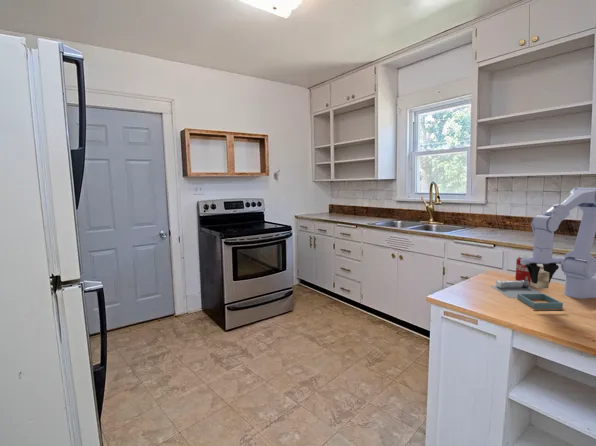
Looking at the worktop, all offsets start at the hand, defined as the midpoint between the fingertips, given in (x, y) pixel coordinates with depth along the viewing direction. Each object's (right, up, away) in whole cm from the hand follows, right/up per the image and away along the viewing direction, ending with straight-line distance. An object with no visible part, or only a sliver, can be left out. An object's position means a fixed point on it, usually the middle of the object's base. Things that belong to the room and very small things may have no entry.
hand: (540, 282), depth 123 cm
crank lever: (+2, -5, +19) cm, 20 cm away
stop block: (0, -2, +1) cm, 2 cm away
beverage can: (+13, -5, +28) cm, 32 cm away
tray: (0, -9, +1) cm, 9 cm away
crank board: (+1, -7, +14) cm, 16 cm away
